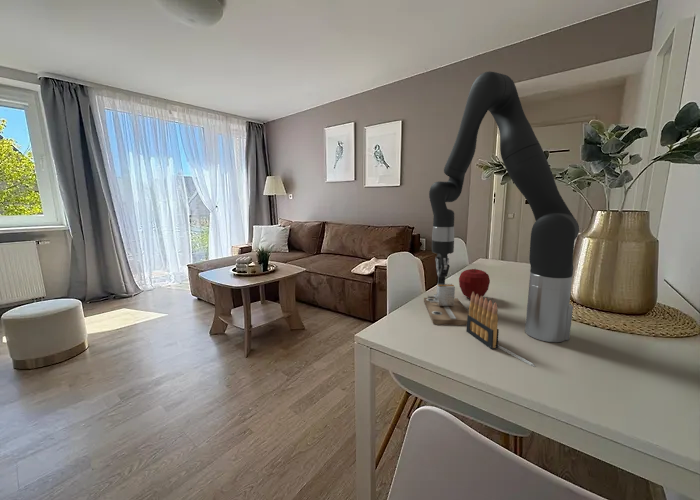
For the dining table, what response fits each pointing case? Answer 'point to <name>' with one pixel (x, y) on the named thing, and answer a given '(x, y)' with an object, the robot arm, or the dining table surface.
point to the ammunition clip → (483, 321)
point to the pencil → (516, 356)
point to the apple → (474, 282)
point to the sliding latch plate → (446, 312)
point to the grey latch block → (445, 295)
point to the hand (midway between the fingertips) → (441, 286)
